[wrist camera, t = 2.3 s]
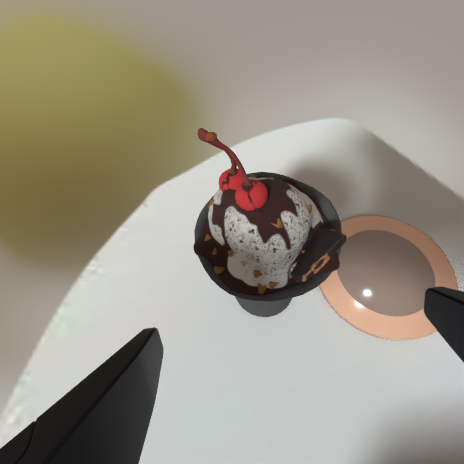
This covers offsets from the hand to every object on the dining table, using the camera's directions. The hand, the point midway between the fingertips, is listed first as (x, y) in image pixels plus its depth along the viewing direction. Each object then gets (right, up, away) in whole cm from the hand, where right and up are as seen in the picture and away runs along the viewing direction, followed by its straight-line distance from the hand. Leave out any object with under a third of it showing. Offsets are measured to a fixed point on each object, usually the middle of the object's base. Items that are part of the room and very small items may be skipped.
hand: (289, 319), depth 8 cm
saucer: (+10, 0, +11) cm, 15 cm away
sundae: (+1, -2, +12) cm, 12 cm away
